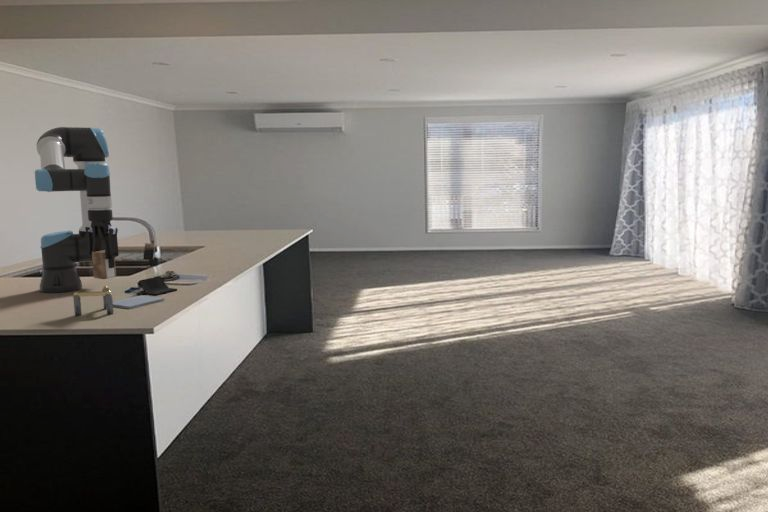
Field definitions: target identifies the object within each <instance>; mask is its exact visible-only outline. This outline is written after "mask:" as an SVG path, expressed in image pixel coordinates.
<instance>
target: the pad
mask: <svg viewBox="0 0 768 512" xmlns="http://www.w3.org/2000/svg"><path fill="white" fill-rule="evenodd" d="M163 301H165V298H163V297H158V296H151V295H137V296H132V297H128V298H125V299H124V298H123V299H120V300H115V301H113V308H114V307H115V308H120V309H121V308H122V309H127V310H131V309H135V308H138V307H139V308H140V307H143V306H147V305H151V304H155V303H159V302H163Z"/></svg>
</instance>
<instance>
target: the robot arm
mask: <svg viewBox="0 0 768 512" xmlns="http://www.w3.org/2000/svg"><path fill="white" fill-rule="evenodd" d="M107 142H108V141H107V138H106V134H105V131H103V129H102V128H99V127H96V128H95V127H90V126H89V127H77V126H76V127H74V126H73V127H71V126H69V127H66V126H60V127H55V128H51V129H50V130H47V131H46V132H43V134H42V135H40V136H39V138H38V140H37V142H36V151H37V153H38V155H39V157H40V168H39V169H35V171H34V181H35V188H36V189H35V190H37V191H38V192H47V193H51V192H79V197H80V208H81V209H80V211H81V222H82V225H81V226H80V227H79V228H78V233H74V232H73V230H62V231H57V232H52V233H47V234H44V235H42V236H41V237H40V249H41V261H42V270H43V271H42V275H41V279H40V283H39V292H40V293H50V294H51V293H53V294H54V293H66V292H72V291H76V290H79V289H82V288H83V282H82V280H81V278H80V276H79V273H78V271H77V268H76V267H77V266H76V263H86V262H93V260H92V252H96V251H103V250H105V253H106V258H105V265H106V278H108V279H112V278H111V277H113V278H116V277H115V274H114V267H115V265H116V264H115V265H114V258H115V259H116V258H117V257H119V255H120V254H119V243H118V233H119V232H118V230H119V229H118V228H117V227H113V226H112V224H111V223H112V222H111V221H113V217H114V216H113V210H112V209H111V208H113V202H112V194H111V177H110V175H111V172H110V167H109V164H108V163H106V159H107V158H108V157H109V156H110V154H109V148H108V143H107ZM65 158H72V162H73V163H74V164H75V165H77V168H66V165H65Z"/></svg>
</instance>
